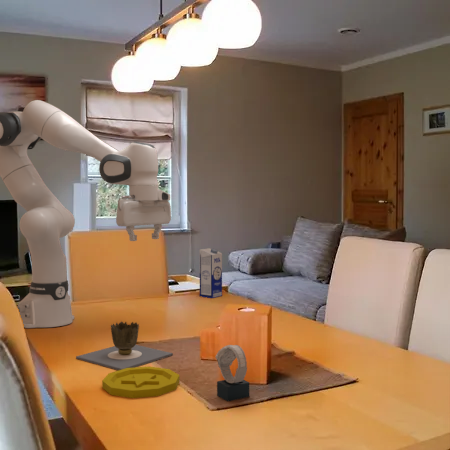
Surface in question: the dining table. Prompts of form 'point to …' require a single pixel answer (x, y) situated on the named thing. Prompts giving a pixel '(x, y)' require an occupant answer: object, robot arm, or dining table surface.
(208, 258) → the milk carton
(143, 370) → the decorative disc
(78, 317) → the dining table surface
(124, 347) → the cup
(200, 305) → the dining table surface
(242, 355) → the watch
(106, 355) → the charcoal mat
